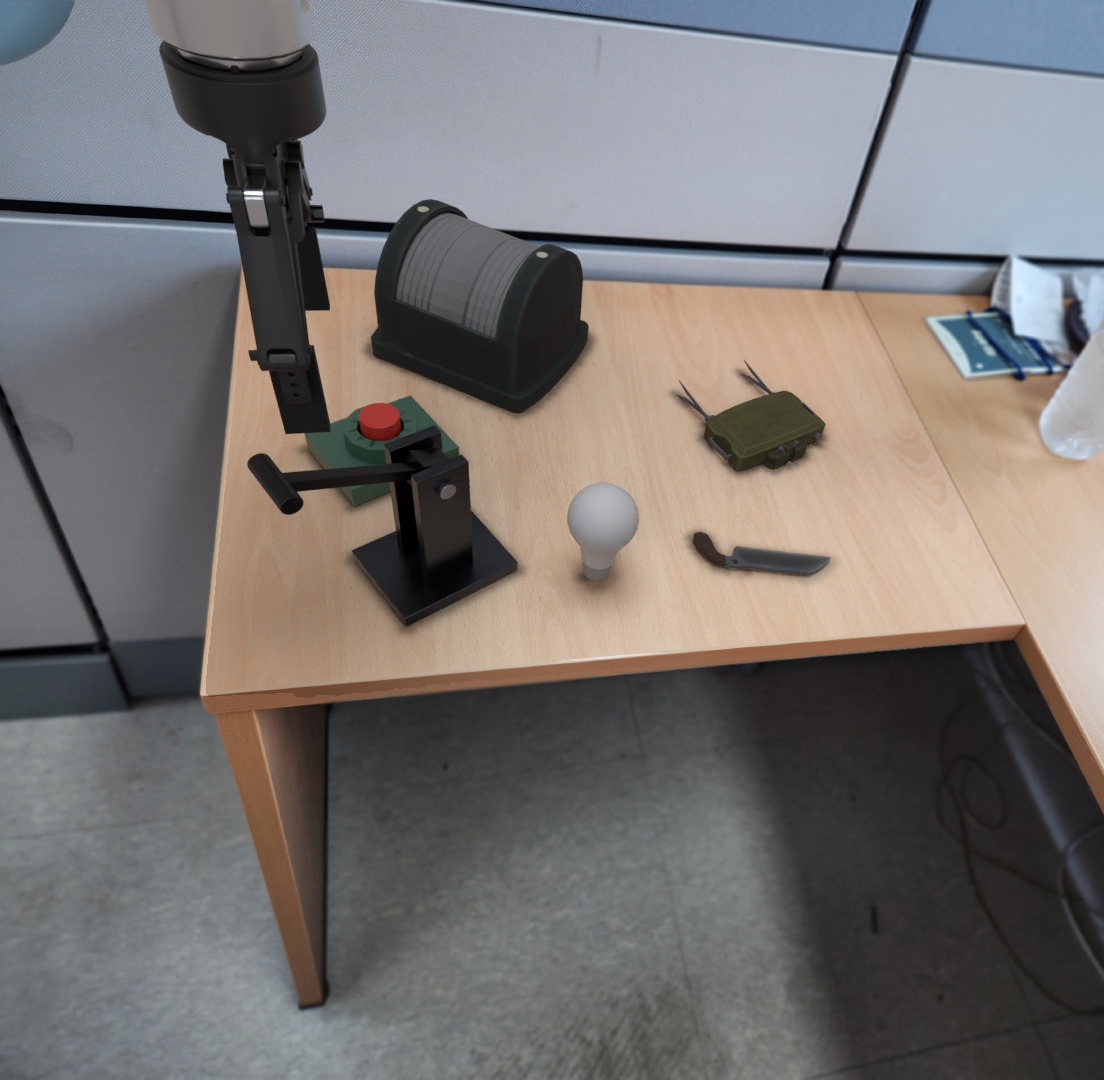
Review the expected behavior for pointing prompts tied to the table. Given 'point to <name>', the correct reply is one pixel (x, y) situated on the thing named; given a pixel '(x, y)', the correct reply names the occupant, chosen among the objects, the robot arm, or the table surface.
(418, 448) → the switch bracket
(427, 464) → the switch lever
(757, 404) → the landmine
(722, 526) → the table surface
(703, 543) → the knife
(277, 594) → the table surface
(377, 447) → the button box
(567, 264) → the light fixture
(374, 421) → the button
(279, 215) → the robot arm
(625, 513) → the lightbulb
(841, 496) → the table surface
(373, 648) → the table surface
